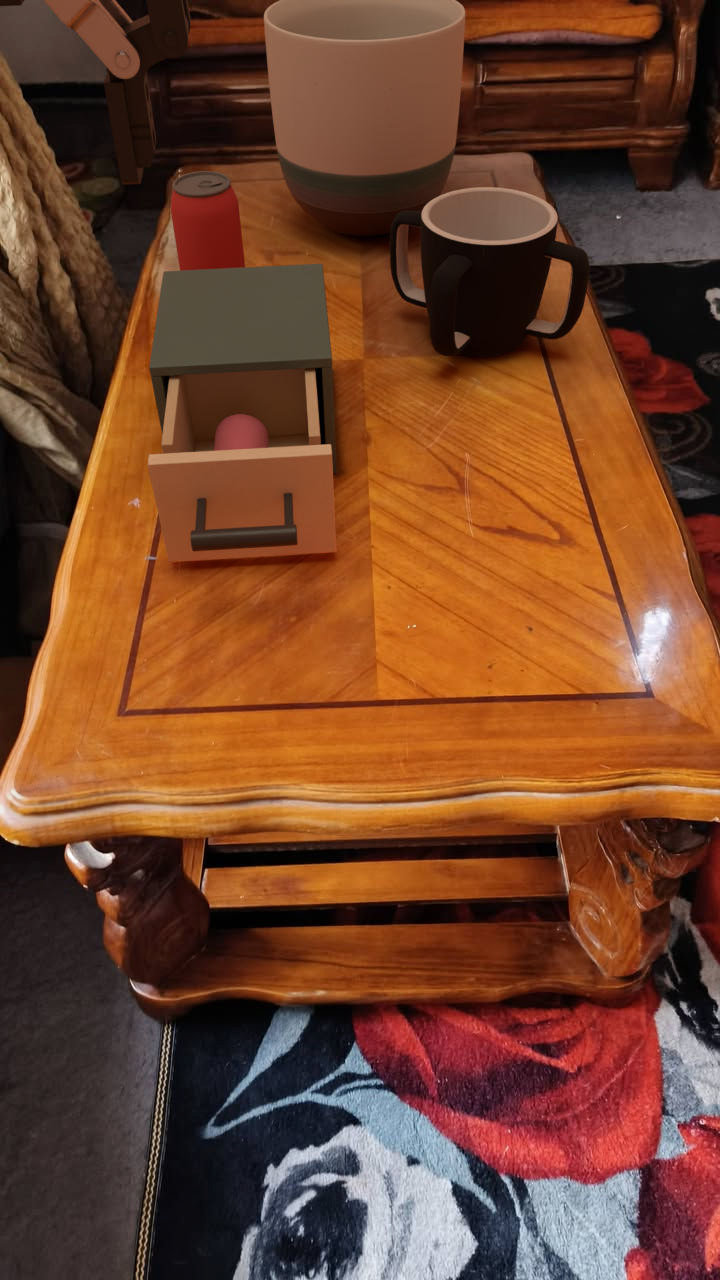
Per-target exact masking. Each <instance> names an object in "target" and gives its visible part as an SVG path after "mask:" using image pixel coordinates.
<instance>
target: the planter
mask: <svg viewBox="0 0 720 1280" xmlns="http://www.w3.org/2000/svg"><path fill="white" fill-rule="evenodd" d="M263 26H264V27H263V28H264V39H265V50H266V61H267V62H266V64H267V75H268V86H269V95H270V96H269V97H270V104H271V113H272V123H273V130H274V139H275V147H276V152H277V157H278V162H279V167H280V170H281V173H282V175H283V180H284V181H285V184H286V186H287V189H288V191H289V193H290V195H291V196H292V198H293V199H294V201H295V202H296V203H297V204H298V205H299V207H300V208H301V209H302V210H303V211H304V212H305V213H306V214H307V215H309V217H311V218H312V219H313V220H314V221H316V222H318V223H319V224H321V225H322V226H324V227H325V228H328V229H329V230H332V231H335V232H337V233H341V234H345V235H348V236H349V235H350V236H358V237H374V236H382V235H386V234H390V228H391V225H392V222H393V220H394V218H395V217H396V215H397V214H398V213H400V212H402V211H405V210H411V211H421V212H422V210H423V208H424V207H425V206H426V204H427V203H429V202H430V201H431V200H433V199H434V198H436V197H438V196H440V195H442V193H443V190H444V188H445V186H446V184H447V181H448V178H449V176H450V172H451V169H452V165H453V161H454V158H455V152H456V151H455V150H456V145H457V135H458V127H459V126H458V125H459V116H460V105H461V92H462V91H461V90H462V80H463V79H462V77H463V65H464V64H463V63H464V47H465V30H466V9H465V8H464V5H462V4H461V3H460V1H458V0H278V1H275V2H274V3H272V4H270V5H269V6H268V7H267V8H266V10H265V11H264V14H263Z"/></svg>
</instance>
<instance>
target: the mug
mask: <svg viewBox="0 0 720 1280" xmlns="http://www.w3.org/2000/svg"><path fill="white" fill-rule="evenodd" d="M558 224H559V217H558V213H557V211H556V209H555V208H554V206H552V205H551V204H550V203H548V201H546V200H544V199H542V198H541V197H539V196H537V195H534V194H531V193H528V192H525V191H521V190H517V189H514V188H513V189H512V188H504V187H493V186H482V187H481V186H480V187H479V186H478V187H469V188H462V189H456V190H452V191H448V192H446V193H443V194H440V195H439V196H438V197H436V198H434V199H433V200H431V201H430V202H429V203H427V204H426V206H425V207H424V208H423V210H422V212H421V211H411V210H405V211H402V212H400V213H398V214H397V215H396V217H395V218H394V220H393V222H392V225H391V228H390V233H389V266H390V275H391V279H392V282H393V284H394V287H395V289H396V292H397V293H398V295H399V296H400V297H401V299H403V300H404V301H405V302H406V303H409V304H412V305H414V306H417V307H421V308H424V309H426V311H427V316H428V322H429V332H430V333H429V334H430V335H429V336H430V341H431V345H432V348H433V349H434V350H435V352H436V353H437V354H439V355H441V356H444V357H454V356H455V357H456V356H457V355H459V354H461V355H464V356H470V357H484V358H485V357H486V358H487V357H495V356H500V355H504V354H507V353H509V352H512V351H514V350H515V349H517V348H520V347H521V345H523V344H524V342H525V341H526V340H527V338H528V336H530V337H535V338H540V339H546V340H558V339H561V338H563V337H565V336H567V335H568V334H569V333H570V332H571V331H572V330H573V328H575V325H576V324H577V322H578V321H579V319H580V317H581V316H582V315H581V314H582V312H583V309H584V306H585V301H586V295H587V291H588V285H589V278H590V269H591V264H590V259H589V256H588V253H587V252H586V251H585V250H584V249H583V248H581V247H578V246H575V245H573V244H569V243H566V242H563V241H559V240H556V239H557V230H558ZM409 226H410V227H414V228H419V229H420V239H419V240H420V241H419V242H420V263H421V266H420V267H421V275H422V283H423V288H420V287H418V286H417V285H415V283H414V281H413V278H412V277H411V273H410V270H409V269H410V268H409V260H408V259H409V258H408V239H409V238H408V237H409ZM553 259H554V260H559V261H561V262H566V263H567V264H569V265H570V280H569V287H568V294H567V299H566V305H565V309H564V313H563V315H562V317H561V318H560V319H559V321H557V322H556V321H555V322H553V321H549V320H544V319H539V318H536V317H537V314H538V311H539V309H540V307H541V302H542V299H543V295H544V292H545V287H546V284H547V281H548V277H549V273H550V269H551V265H552V260H553Z"/></svg>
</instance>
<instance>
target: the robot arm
mask: <svg viewBox="0 0 720 1280" xmlns="http://www.w3.org/2000/svg"><path fill="white" fill-rule="evenodd" d="M42 1H43V2H44V3H45V4H46V6H47V7H48V8H49V9H50V10H51V11H52V12H53V14H54V15H55V16H56V17H57V18H58V19H59V20H60V21H61V22H62V23H63V24H64V25H65V26H66V27H67V28H68V29H70V30H73V31H74V32H75V33H76V34H77V35H78V36H79V37H80V38H81V40H82V41H83V42H84V43H85V44H86V45H87V46H88V47H89V49H90V50H91V51H92V52H93V53H94V54H95V56H96V57H97V58H98V59H99V60H100V61H101V62H102V64H103V65H104V66H105V67H106V68H107V72H106V74H105V78H104V81H103V87H104V93H105V100H106V104H107V110H108V116H109V122H110V128H111V132H112V139H113V143H114V150H115V156H116V161H117V166H118V172H119V178H120V182H121V184H122V185H141V183H142V179H143V174H144V169H145V168H146V169H147V168H148V169H149V168H152V165H153V160H154V156H155V150H156V147H157V135H156V129H155V122H154V121H155V120H154V115H153V108H152V107H153V106H152V101H151V94H150V88H149V80H148V70H149V69H150V68H151V67H153V66H154V65H155V64H157V63H160V62H162V61H164V60H166V59H178V58H179V57H181V56H183V55H184V53H185V52H186V50H187V48H188V45H189V35H190V31H191V27H192V26H191V25H192V21H191V13H190V7H189V1H188V0H145V3H146V7H147V13H148V14H145V15H144V16H142V17H140V18H138V19H136V20H134V21H133V20H132V19H131V17H130V16H129V15H128V14H127V12H126V11H125V9H124V8H122V6H121V5H120V4H119V3H118V1H117V0H42ZM24 2H25V0H0V7H17V6H18V7H19V6H22V5H23V3H24Z"/></svg>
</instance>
